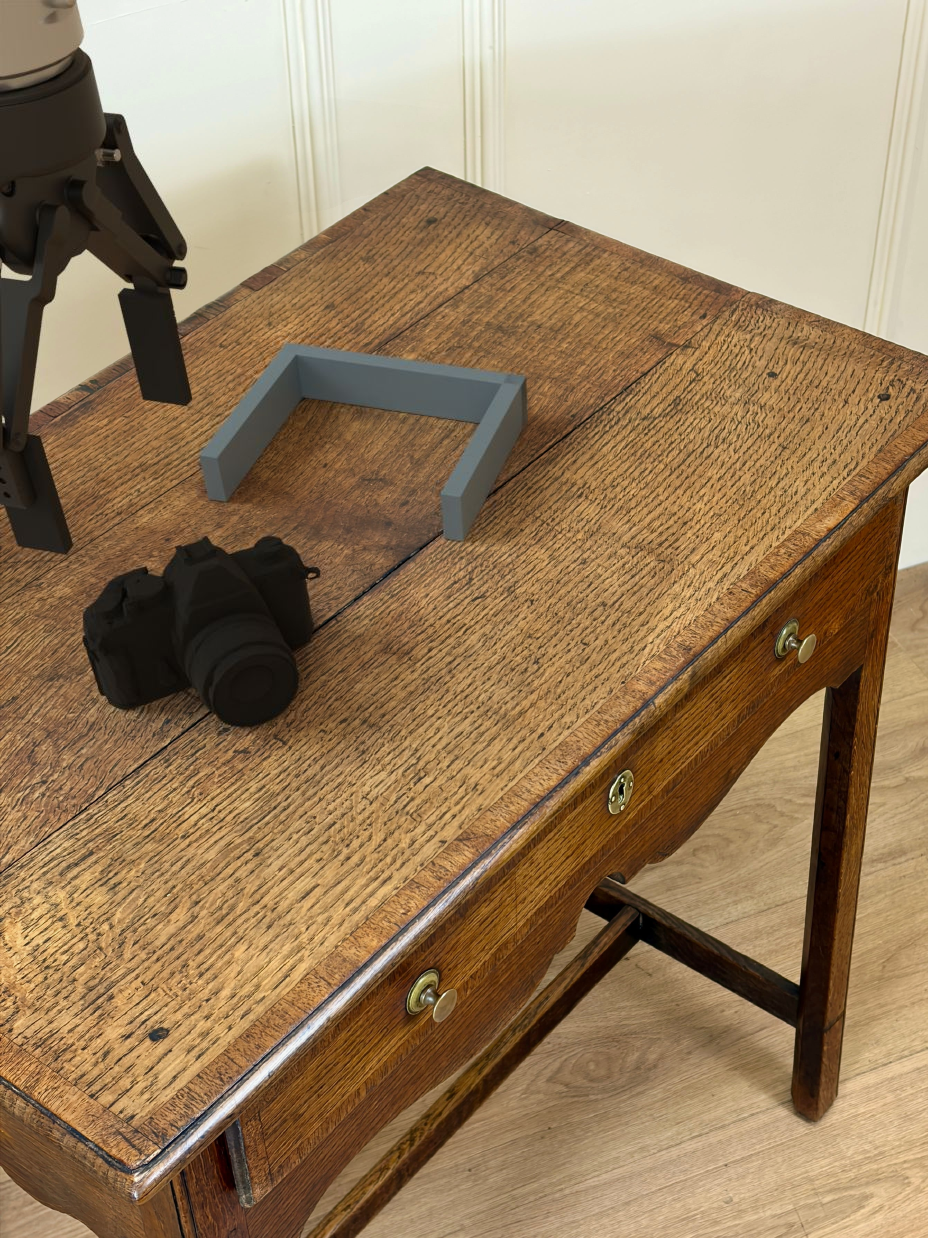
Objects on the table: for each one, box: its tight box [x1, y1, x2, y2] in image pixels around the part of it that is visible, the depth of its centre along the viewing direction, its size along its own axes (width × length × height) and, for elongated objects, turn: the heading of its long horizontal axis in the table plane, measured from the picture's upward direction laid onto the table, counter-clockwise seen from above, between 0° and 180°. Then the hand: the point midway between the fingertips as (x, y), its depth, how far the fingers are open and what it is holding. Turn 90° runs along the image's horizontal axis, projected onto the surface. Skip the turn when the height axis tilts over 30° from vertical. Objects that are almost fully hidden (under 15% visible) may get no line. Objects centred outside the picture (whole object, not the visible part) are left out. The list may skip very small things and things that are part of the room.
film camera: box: [81, 535, 322, 728], centre depth 91 cm, size 15×10×9 cm, turn 118°
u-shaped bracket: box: [198, 342, 528, 543], centre depth 110 cm, size 20×16×4 cm
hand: (110, 469), depth 78 cm, fingers open, 13 cm apart
